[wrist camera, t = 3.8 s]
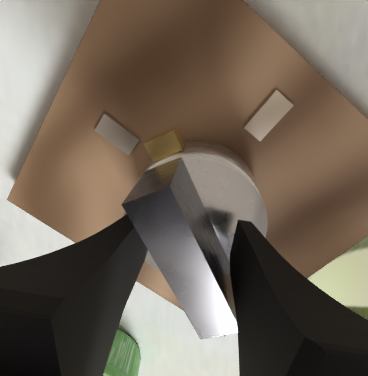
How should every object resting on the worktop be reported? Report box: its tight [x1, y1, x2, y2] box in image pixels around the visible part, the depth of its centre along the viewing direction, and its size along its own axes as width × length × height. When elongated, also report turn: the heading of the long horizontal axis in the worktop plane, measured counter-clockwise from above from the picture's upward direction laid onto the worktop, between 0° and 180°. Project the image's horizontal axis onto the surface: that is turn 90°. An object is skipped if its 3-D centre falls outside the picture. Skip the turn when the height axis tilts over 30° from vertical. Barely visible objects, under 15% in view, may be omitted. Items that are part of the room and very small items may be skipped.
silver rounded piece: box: [121, 126, 268, 339], centre depth 12 cm, size 8×7×7 cm
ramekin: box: [103, 329, 141, 376], centre depth 24 cm, size 9×9×4 cm
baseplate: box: [7, 0, 368, 336], centre depth 16 cm, size 20×18×2 cm
